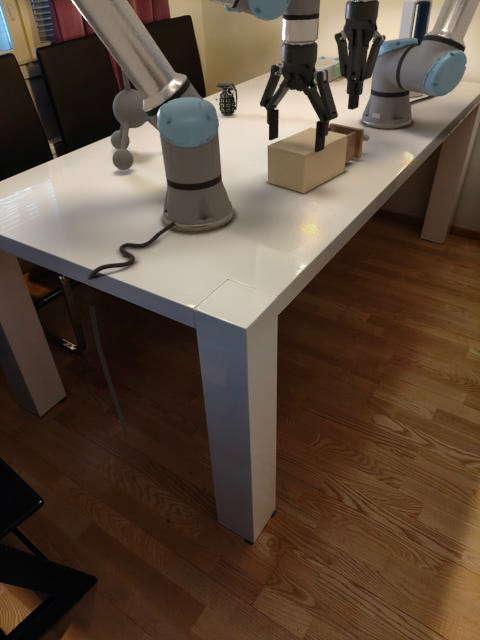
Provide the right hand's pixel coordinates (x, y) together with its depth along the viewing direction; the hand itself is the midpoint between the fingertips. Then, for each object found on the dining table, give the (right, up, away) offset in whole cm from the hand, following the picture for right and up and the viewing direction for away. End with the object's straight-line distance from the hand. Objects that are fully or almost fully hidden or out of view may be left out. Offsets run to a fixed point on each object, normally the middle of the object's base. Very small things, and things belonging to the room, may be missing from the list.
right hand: (353, 108), depth 126 cm
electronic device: (+31, +28, +53) cm, 67 cm away
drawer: (-4, -12, +3) cm, 13 cm away
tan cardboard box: (-12, -19, -3) cm, 23 cm away
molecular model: (-56, -8, +15) cm, 58 cm away
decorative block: (+4, +48, +81) cm, 94 cm away
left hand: (-16, -13, -11) cm, 24 cm away
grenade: (-33, +16, +43) cm, 57 cm away
